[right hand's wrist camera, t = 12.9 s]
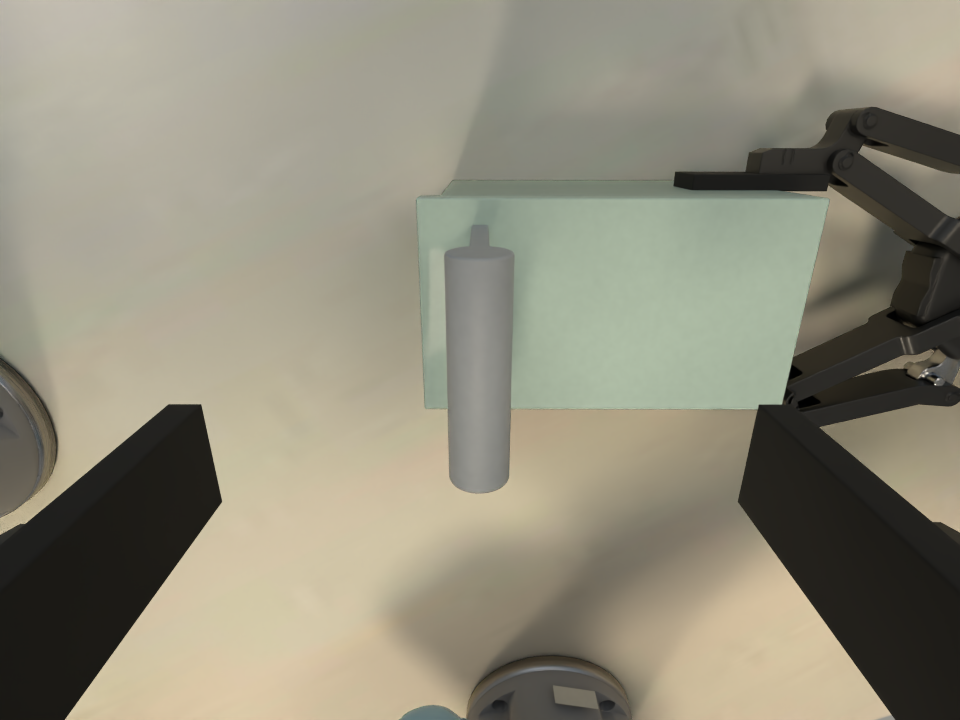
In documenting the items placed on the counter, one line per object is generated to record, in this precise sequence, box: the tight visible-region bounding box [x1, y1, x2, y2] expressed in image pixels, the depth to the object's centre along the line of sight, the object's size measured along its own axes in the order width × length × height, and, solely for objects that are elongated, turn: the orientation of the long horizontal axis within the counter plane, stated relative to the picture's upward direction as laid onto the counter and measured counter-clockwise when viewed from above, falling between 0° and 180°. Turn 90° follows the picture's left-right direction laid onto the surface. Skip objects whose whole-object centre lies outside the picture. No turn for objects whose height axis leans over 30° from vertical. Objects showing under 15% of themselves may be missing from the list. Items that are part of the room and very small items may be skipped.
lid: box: [416, 195, 830, 493], centre depth 21 cm, size 17×10×9 cm, turn 90°
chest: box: [441, 180, 811, 196], centre depth 30 cm, size 16×10×11 cm, turn 90°
